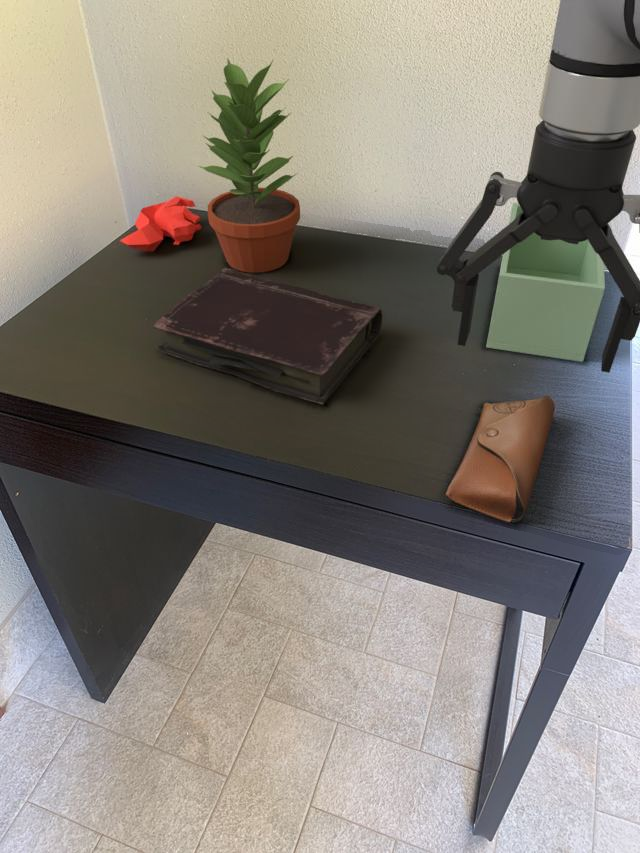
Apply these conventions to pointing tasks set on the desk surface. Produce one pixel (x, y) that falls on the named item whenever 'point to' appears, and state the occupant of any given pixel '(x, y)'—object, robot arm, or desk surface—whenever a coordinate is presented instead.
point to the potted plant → (250, 178)
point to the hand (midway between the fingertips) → (532, 351)
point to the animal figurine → (163, 224)
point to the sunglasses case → (503, 458)
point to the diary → (271, 333)
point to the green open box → (547, 297)
